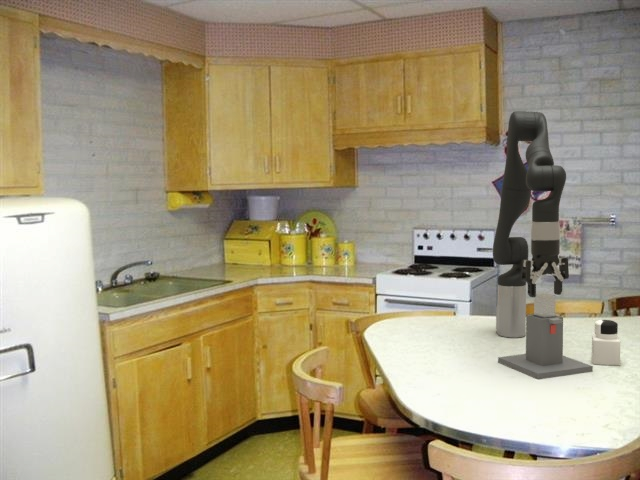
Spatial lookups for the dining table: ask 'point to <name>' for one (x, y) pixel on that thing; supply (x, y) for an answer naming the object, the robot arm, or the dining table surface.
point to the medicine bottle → (606, 343)
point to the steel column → (544, 305)
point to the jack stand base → (544, 351)
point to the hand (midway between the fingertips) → (544, 295)
